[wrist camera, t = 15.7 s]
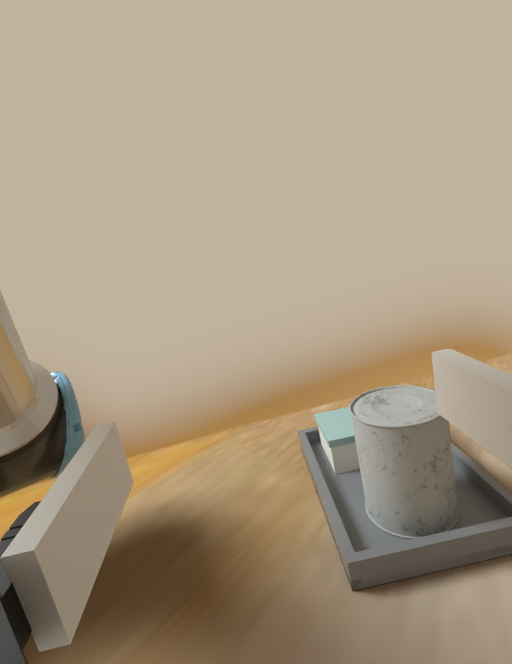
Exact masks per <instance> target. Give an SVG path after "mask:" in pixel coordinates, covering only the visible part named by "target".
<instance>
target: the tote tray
mask: <svg viewBox="0 0 512 664" xmlns="http://www.w3.org/2000/svg"><path fill="white" fill-rule="evenodd" d="M298 435H299V440H300V446H301V450H302V452H303V455H304V458H305V461H306V463H307V466H308V469H309V472H310V475H311V477H312V480H313V483H314V486H315V488H316V491H317V494H318V497H319V499H320V502H321V505H322V508H323V511H324V513H325V516H326V519H327V522H328V524H329V527H330V530H331V533H332V536H333V538H334V541H335V544H336V547H337V549H338V552H339V555H340V558H341V561H342V563H343V566H344V569H345V572H346V574H347V577H348V580H349V583H350V586H351V588H352V591H355V590H359V589H363V588H368V587H372V586H376V585H381V584H385V583H389V582H394V581H398V580H402V579H407V578H411V577H415V576H420V575H424V574H428V573H433V572H437V571H441V570H446V569H450V568H454V567H459V566H463V565H467V564H472V563H476V562H480V561H485V560H489V559H493V558H498V557H502V556H506V555H511V554H512V493H511V492H510V491H509V490H507V489H506V488H505V487H504V486H503V485H501V484H500V483H499V482H498V481H497V480H496V479H494V478H493V477H492V476H491V475H490V474H489V473H487V472H486V471H485V470H484V469H483V468H481V467H480V466H479V465H478V464H477V463H476V462H474V461H473V460H472V459H471V458H470V457H468V456H467V455H466V454H465V453H464V452H463V451H461V450H460V449H459V448H458V447H457V446H455V445H454V444H453V443H452V442H451V448H452V458H453V467H454V476H455V486H456V495H457V504H458V506H459V513H460V515H459V518H458V522H457V523H456V525H455V526H454V527H453V528H452V529H451V530H450V531H446V532H442V533H437V534H433V535H429V536H424V537H420V538H415V539H404V538H400V537H397V536H393V535H391V534H389V533H387V532H384V531H383V530H381V529H380V528H378V527H377V526H376V525H375V524H374V523H373V522H372V521H371V520H370V519H369V517H368V514H367V512H366V507H365V496H364V490H363V484H362V478H361V472H360V469H357V470H353V471H348V472H344V473H339V474H335V472H334V470H333V468H332V466H331V464H330V462H329V459H328V457H327V455H326V453H325V451H324V449H323V447H322V445H321V439H320V434H319V429H318V427H314V428H309V429H305V430H300V431H298Z"/></svg>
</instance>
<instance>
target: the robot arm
mask: <svg viewBox="0 0 512 664" xmlns="http://www.w3.org/2000/svg"><path fill="white" fill-rule="evenodd" d="M432 361H433V371H434V382H435V392H436V402H437V413H438V414H439V415H441V416H442V417H443V418H445V419H446V420H447V421H449V422H450V423H451V424H452V425H454V426H455V427H456V428H458V429H459V430H460V431H462V432H463V433H464V434H466V435H467V436H468V437H470V438H471V439H472V440H474V441H475V442H476V443H478V444H479V445H480V446H482V447H483V448H484V449H486V450H487V451H488V452H490V453H491V454H492V455H494V456H495V457H496V458H498V459H499V460H500V461H502V462H503V463H504V464H506V465H507V466H508V467H510V468H511V469H512V375H510V374H508V373H506V372H503V371H501V370H499V369H496V368H494V367H492V366H489V365H487V364H485V363H482V362H480V361H478V360H475V359H473V358H471V357H468V356H466V355H463V354H461V353H459V352H456V351H454V350H452V349H445V350H440V351H436V352H432ZM60 474H61V475H60ZM58 475H60V476H59V477H58V479H57V480H56V481H55V483H54V484H53V486H52V487H51V488H50V490H49V491H48V492H47V494H46V495H45V497H44V498H43V499H42V501H39V502H35V503H33V504H32V505H31V506H30V507H29V508H27V509H26V510H25V511H24V512H23V513H21V514H20V515H19V516H18V518H17V519H16V520H15V522H14V523H13V524H12V525H11V527H10V530H8V531H7V532H6V533H5V535H4V536H3V537H2V538H1V541H0V664H28V663H27V661H26V658H25V656H24V654H23V651H22V650H23V648H24V646H25V644H26V642H27V640H28V638H29V636H30V634H32V636H33V639H34V641H35V644H36V646H37V648H38V651H39V652H41V651H45V650H49V649H54V648H58V647H62V646H66V645H70V644H71V642H72V640H73V637H74V634H75V632H76V629H77V627H78V624H79V621H80V619H81V616H82V614H83V611H84V609H85V606H86V603H87V601H88V598H89V596H90V593H91V590H92V588H93V585H94V583H95V580H96V578H97V575H98V572H99V570H100V567H101V565H102V562H103V559H104V557H105V554H106V552H107V549H108V547H109V544H110V541H111V539H112V536H113V534H114V531H115V528H116V526H117V523H118V521H119V518H120V516H121V513H122V510H123V508H124V505H125V503H126V500H127V497H128V495H129V492H130V490H131V487H132V485H133V479H132V476H131V472H130V469H129V466H128V462H127V459H126V456H125V453H124V449H123V446H122V443H121V440H120V436H119V433H118V430H117V426H116V423H115V422H112V423H107V424H102V425H98V426H95V428H94V429H93V431H92V432H91V434H90V435H89V436H88V438H87V439H86V440H85V437H84V431H83V427H82V425H81V416H80V411H79V408H78V404H77V400H76V397H75V394H74V391H73V388H72V386H71V383H70V381H69V379H68V377H67V376H66V375H65V374H64V373H61V372H54V373H53V372H48V370H46V369H45V368H44V367H43V366H41V365H39V364H37V363H35V362H33V361H31V360H29V359H28V357H27V354H26V352H25V350H24V347H23V345H22V342H21V340H20V337H19V335H18V332H17V330H16V328H15V325H14V323H13V320H12V318H11V315H10V313H9V311H8V308H7V306H6V303H5V301H4V299H3V296H2V294H1V291H0V498H2V497H5V496H7V495H10V494H12V493H14V492H17V491H19V490H22V489H24V488H26V487H29V486H31V485H34V484H36V483H38V482H41V481H43V480H46V479H48V478H54V477H57V476H58Z"/></svg>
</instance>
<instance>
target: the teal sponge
mask: <svg viewBox="0 0 512 664" xmlns="http://www.w3.org/2000/svg"><path fill="white" fill-rule="evenodd" d="M314 415H315V421H316V423H317V425H318V429H319V434H320V439H321V445H322V447H323V449H324V451H325V453H326V455H327V457H328V459H329V462H330V464H331V466H332V468H333V470H334V472H335V474H339V473H344V472H348V471H353V470H357V469H360V466H359V460H358V453H357V447H356V441H355V435H354V429H353V423H352V417H351V414H350V410H349V407H346V408H341V409H337V410H332V411H328V412H323V413H319V414H314Z"/></svg>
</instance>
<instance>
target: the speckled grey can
mask: <svg viewBox="0 0 512 664" xmlns="http://www.w3.org/2000/svg"><path fill="white" fill-rule="evenodd" d="M349 410H350V414H351V417H352V423H353V429H354V435H355V441H356V447H357V453H358V460H359V466H360V472H361V478H362V484H363V490H364V496H365V507H366V512H367V514H368V517H369V519H370V520H371V521H372V522H373V523H374V524H375V525H376V526H377V527H378V528H380V529H381V530H383V531H384V532H387V533H389V534H391V535H393V536H397V537H400V538H404V539H415V538H420V537H424V536H429V535H433V534H437V533H442V532H446V531H450V530H451V529H452V528H453V527H454V526H455V525H456V523H457V522H458V518H459V515H460V513H459V506H458V504H457V495H456V486H455V476H454V467H453V458H452V448H451V439H450V430H449V421H447V420H446V419H445V418H443V417H442V416H441V415H439V414H438V413H437V402H436V392H435V391H434V390H432V389H428V388H424V387H419V386H408V385H398V386H387V387H381V388H377V389H373V390H370V391H367V392H364V393H362V394H360V395H359V396H357V397H356V398H354V399H353V400H352V402H351V403H350V406H349Z"/></svg>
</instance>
